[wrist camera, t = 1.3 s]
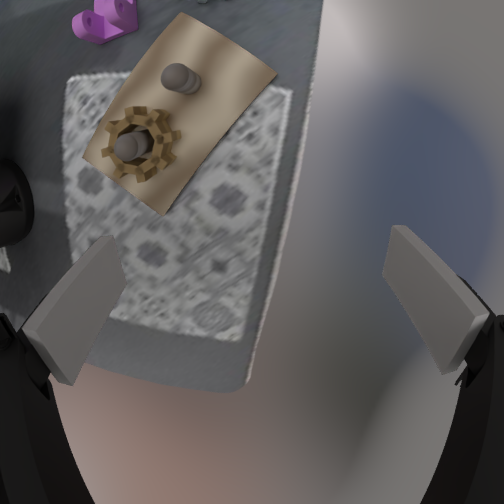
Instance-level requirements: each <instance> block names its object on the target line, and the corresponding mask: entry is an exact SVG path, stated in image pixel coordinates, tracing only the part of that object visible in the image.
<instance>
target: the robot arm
mask: <svg viewBox="0 0 504 504" xmlns="http://www.w3.org/2000/svg"><path fill="white" fill-rule="evenodd" d="M33 213H34V211H33V200H32V195H31V191H30V187H29V185H28V182H27V180H26V178H25V176H24V174H23V172H22V171H21V169H20V168H19V167H18V166H17V165H16V164H15V163H13V162H12V161H10V160H7V159H2V160H0V248H2V247H5V246H8V245H14V244H16V243H18V242H19V241H21V240H22V239H23V238H24V237H26V236H27V234H28V233H29V231H30V229H31V226H32V223H33ZM382 275H383V277H384V278H385V280H386V281H387V283H388V284H389V286H390V287H391V289H392V290H393V292H394V293H395V295H396V297H397V298H398V300H399V301H400V303H401V304H402V306H403V307H404V309H405V311H406V312H407V314H408V316H409V317H410V319H411V321H412V322H413V324H414V326H415V327H416V329H417V331H418V332H419V334H420V336H421V337H422V339H423V341H424V343H425V344H426V346H427V348H428V350H429V351H430V353H431V355H432V357H433V359H434V361H435V363H436V364H437V366H438V368H439V370H440V372H441V374H442V375H443V374H447V373H449V372H453V371H455V370H457V369H458V367H459V366H460V364H461V362H462V361H463V360H465V361H466V363H467V366H466V368H465V369H464V371H463V372H462V373H461V375H460V376H459V378H458V379H457V381H456V383H455V385H457V384H458V383H459V381H461V380H462V383H461V385H460V387H461V388H460V393H459V397H458V401H457V405H456V409H455V414H454V417H453V421H452V425H451V428H450V431H449V434H448V437H447V440H446V443H445V446H444V449H443V452H442V455H441V458H440V460H439V463H438V465H437V468H436V470H435V473H434V475H433V478H432V480H431V482H430V484H429V486H428V489H427V491H426V493H425V495H424V497H423V499H422V501H421V503H420V504H504V315H498V316H497V317H496V315H495V314H494V313H493V312H492V310H491V309H490V308H489V307H488V306H487V305H486V303H485V302H484V301H483V300H482V299H481V298H480V296H477V293H476V292H475V291H474V290H473V289H472V287H471V286H470V285H469V284H468V283H467V282H466V281H465V280H464V279H462V278H461V277H459V276H458V275H456V274H455V273H454V272H453V271H452V270H451V269H450V268H449V267H448V266H447V265H446V264H445V263H444V262H443V261H442V260H441V259H440V258H439V257H438V256H437V255H436V254H435V253H434V252H433V251H432V250H431V249H430V248H429V247H428V246H427V245H426V244H425V243H424V242H423V241H422V240H421V239H420V238H419V237H418V236H416V235H415V234H414V233H413V232H412V231H411V230H410V229H409V228H408V227H407V226H405V225H392V229H391V235H390V240H389V245H388V251H387V255H386V260H385V265H384V269H383V273H382ZM126 285H127V282H126V279H125V275H124V272H123V269H122V265H121V262H120V258H119V255H118V251H117V248H116V244H115V240H114V236H102V237H100V238H99V239H98V240H97V241H96V242H95V243H94V244H93V245H92V246H91V247H90V248H89V249H88V250H87V251H86V252H85V253H84V254H83V255H82V256H81V257H80V258H79V260H78V261H77V262H76V263H75V264H74V265H73V266H72V267H71V268H70V269H69V270H68V272H67V273H66V274H65V275H64V276H63V277H62V278H61V280H60V281H59V282H58V283H57V284H56V285H55V287H54V288H53V289H52V290H51V291H50V292H49V293H48V294H47V295H45V297H44V298H43V299H42V300H41V301H40V303H39V305H37V306H36V308H35V309H34V311H33V312H32V313H31V314H30V315H29V317H28V318H27V319H26V321H25V322H24V323H23V325H22V326H21V327H20V329H19V330H18V332H17V333H16V331H15V329H14V328H13V326H12V324H11V323H10V321H9V319H8V317H7V316H6V315H5V314H4V313H0V504H95V503H94V501H93V499H92V497H91V495H90V493H89V491H88V489H87V487H86V485H85V482H84V480H83V478H82V476H81V474H80V471H79V469H78V467H77V465H76V462H75V459H74V457H73V454H72V451H71V449H70V446H69V443H68V440H67V437H66V434H65V432H64V428H63V425H62V422H61V419H60V415H59V412H58V408H57V404H56V400H55V396H54V392H53V388H52V384H51V382H50V380H49V379H48V377H49V375H50V373H52V375H53V376H54V377H55V378H56V380H57V381H58V382H59V383H63V384H66V385H70V386H73V384H74V383H75V380H76V378H77V376H78V374H79V372H80V370H81V368H82V366H83V364H84V362H85V360H86V358H87V356H88V354H89V352H90V350H91V348H92V346H93V344H94V342H95V340H96V338H97V336H98V334H99V333H100V331H101V329H102V327H103V325H104V323H105V321H106V320H107V318H108V316H109V314H110V312H111V311H112V309H113V307H114V305H115V304H116V302H117V300H118V299H119V297H120V295H121V293H122V292H123V290H124V288H125V287H126Z"/></svg>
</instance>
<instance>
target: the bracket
mask: <svg viewBox="0 0 504 504" xmlns="http://www.w3.org/2000/svg"><path fill="white" fill-rule="evenodd" d="M72 28H73V31H74V33H75V35H76V36H77V37H78V38H80V39H83V40H87V41H90V42H93V43H96V44H99V45H101V44H103V43H106V42H108V41H110V40H113V39H115V38H117V37H120V36H122V35H125V34H128V33H130V32H133V31H136V30H138V21H137V8H136V0H94V12H92V11H90V10H85V11H83V12H81V13H79V14H78V15H76V16H74V18H73V20H72Z"/></svg>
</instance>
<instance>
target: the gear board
mask: <svg viewBox="0 0 504 504" xmlns="http://www.w3.org/2000/svg"><path fill="white" fill-rule="evenodd" d="M277 74H278V73H276V72H275V71H274V70H273V69H271V68H270V67H269V66H267V65H266V64H265V63H263V62H262V61H260V60H259V59H258V58H256V57H255V56H253V55H252V54H251V53H249V52H248V51H246V50H245V49H243V48H242V47H240V46H239V45H237V44H236V43H234V42H233V41H231V40H230V39H228V38H226V37H225V36H223V35H222V34H220V33H218V32H217V31H215V30H213V29H212V28H210V27H208V26H206V25H205V24H203V23H201V22H199V21H198V20H196V19H194V18H192V17H190V16H188V15H186V14H185V13H183V12H180V14H179V15H178V16H177V17H176V18H175V19H174V20H173V21H172V22H171V23H170V24H169V26H168V27H167V28H166V29H165V30H164V31H163V32H162V34H161V35H160V36H159V37H158V38H157V40H156V41H155V42H154V43H153V44H152V46H151V47H150V48H149V50H148V51H147V52H146V53H145V55H144V56H143V57H142V59H141V60H140V61H139V63H138V64H137V65H136V67H135V68H134V70H133V71H132V72H131V74H130V75H129V77H128V78H127V80H126V81H125V83H124V84H123V86H122V87H121V89H120V90H119V92H118V93H117V95H116V96H115V98H114V100H113V101H112V103H111V105H110V106H109V108H108V110H107V111H106V113H105V115H104V116H103V118H102V120H101V122H100V124H99V125H98V127H97V129H96V131H95V133H94V135H93V137H92V139H91V140H90V142H89V144H88V146H87V148H86V150H85V153H84V155H83V157H82V158H83V159H85V160H86V161H87V162H89V163H90V164H91V165H93V166H94V167H95V168H97V169H98V170H100V171H101V172H102V173H104V174H105V175H106V176H108V177H109V178H110V179H112V180H113V181H114V182H116V183H117V184H119V185H120V186H121V187H123V188H124V189H125V190H127V191H128V192H129V193H131V194H132V195H134V196H135V197H136V198H138V199H139V200H141V201H142V202H143V203H145V204H146V205H147V206H149V207H150V208H152V209H153V210H154V211H156V212H157V213H159V214H160V215H161V216H164V215H165V213H166V212H167V211H168V209H169V208H170V206H171V205H172V203H173V202H174V201H175V199H176V198H177V196H178V195H179V193H180V192H181V191H182V189H183V188H184V186H185V185H186V184H187V182H188V181H189V180H190V178H191V177H192V176H193V174H194V173H195V172H196V170H197V169H198V168H199V166H200V165H201V164H202V162H203V161H204V160H205V158H206V157H207V156H208V154H209V153H210V152H211V151H212V149H213V148H214V147H215V146H216V144H217V143H218V142H219V141H220V139H221V138H222V137H223V136H224V134H225V133H226V132H227V131H228V130H229V128H230V127H231V126H232V125H233V123H234V122H235V121H236V120H237V119H238V118H239V116H240V115H241V114H242V113H243V112H244V111H245V109H246V108H247V107H248V106H249V105H250V104H251V103H252V101H253V100H254V99H255V98H256V97H257V96H258V95H259V94H260V93H261V91H262V90H263V89H264V88H265V87H266V86H267V85H268V84H269V83H270V82H271V81H272V80H273V79H274V77H275V76H276V75H277Z"/></svg>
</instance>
